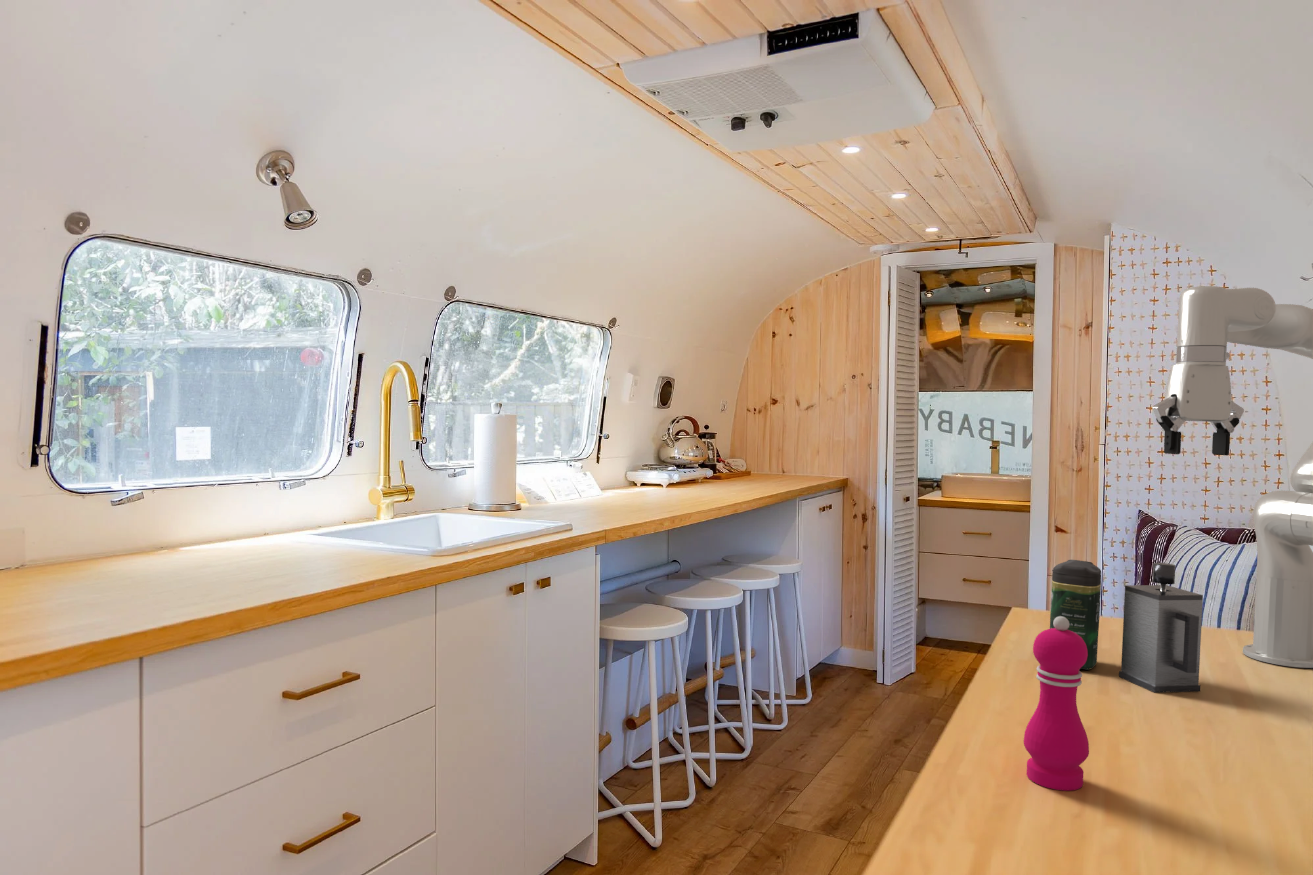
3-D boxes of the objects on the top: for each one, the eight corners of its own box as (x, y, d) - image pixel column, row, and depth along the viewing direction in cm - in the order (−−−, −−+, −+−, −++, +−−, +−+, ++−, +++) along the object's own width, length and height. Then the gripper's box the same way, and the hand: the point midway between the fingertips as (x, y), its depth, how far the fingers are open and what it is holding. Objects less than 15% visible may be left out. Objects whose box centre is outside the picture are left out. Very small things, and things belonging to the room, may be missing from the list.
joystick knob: (1163, 640, 150) (1166, 561, 150) (1188, 649, 144) (1192, 567, 144) (1133, 641, 149) (1137, 561, 149) (1157, 650, 144) (1161, 567, 143)
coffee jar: (1094, 674, 151) (1098, 567, 151) (1044, 666, 156) (1048, 562, 155) (1100, 661, 160) (1104, 560, 159) (1052, 654, 164) (1057, 555, 163)
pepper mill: (1032, 762, 112) (1039, 606, 111) (1094, 779, 107) (1101, 616, 106) (1014, 780, 106) (1021, 616, 105) (1078, 798, 101) (1086, 627, 101)
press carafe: (1162, 675, 152) (1166, 584, 151) (1213, 696, 141) (1218, 599, 140) (1118, 676, 150) (1123, 585, 150) (1167, 698, 139) (1171, 599, 139)
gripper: (1226, 360, 160) (1222, 454, 161) (1142, 357, 157) (1137, 452, 158) (1261, 358, 153) (1256, 456, 153) (1173, 354, 150) (1168, 454, 150)
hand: (1196, 454), depth 156 cm, fingers open, 9 cm apart
